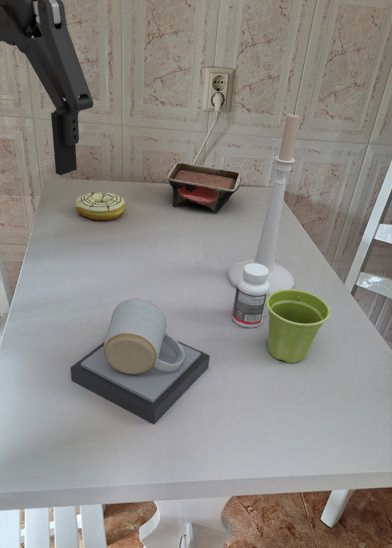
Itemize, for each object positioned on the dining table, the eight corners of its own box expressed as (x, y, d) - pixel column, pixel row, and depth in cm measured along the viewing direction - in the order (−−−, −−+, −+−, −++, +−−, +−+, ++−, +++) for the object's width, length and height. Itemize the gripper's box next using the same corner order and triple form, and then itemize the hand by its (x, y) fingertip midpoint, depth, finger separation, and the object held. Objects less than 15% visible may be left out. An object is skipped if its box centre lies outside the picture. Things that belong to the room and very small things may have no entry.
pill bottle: (238, 307, 86) (247, 257, 80) (267, 316, 84) (278, 266, 78) (226, 322, 82) (234, 271, 76) (256, 332, 81) (266, 281, 75)
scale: (69, 379, 68) (68, 363, 66) (130, 332, 78) (131, 316, 76) (154, 424, 63) (155, 408, 61) (208, 367, 72) (210, 352, 71)
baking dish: (223, 227, 116) (236, 187, 110) (154, 202, 117) (163, 160, 112) (235, 210, 128) (247, 173, 122) (172, 187, 129) (181, 149, 123)
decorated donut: (90, 200, 117) (89, 185, 114) (131, 209, 115) (132, 194, 112) (68, 216, 109) (67, 200, 106) (113, 226, 107) (112, 209, 104)
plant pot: (276, 376, 72) (288, 329, 67) (246, 339, 79) (255, 293, 73) (327, 364, 76) (343, 318, 70) (295, 329, 82) (306, 285, 77)
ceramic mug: (101, 375, 64) (100, 328, 60) (112, 338, 71) (112, 293, 66) (181, 384, 65) (186, 339, 60) (185, 346, 71) (190, 302, 66)
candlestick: (232, 258, 100) (257, 98, 81) (294, 269, 99) (333, 109, 80) (223, 290, 90) (249, 115, 72) (292, 302, 89) (337, 128, 70)
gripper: (126, -56, 44) (125, 176, 58) (-58, -79, 53) (-23, 127, 66) (69, -63, 39) (82, 194, 52) (-125, -88, 48) (-72, 138, 61)
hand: (24, 157), depth 59 cm, fingers open, 13 cm apart
